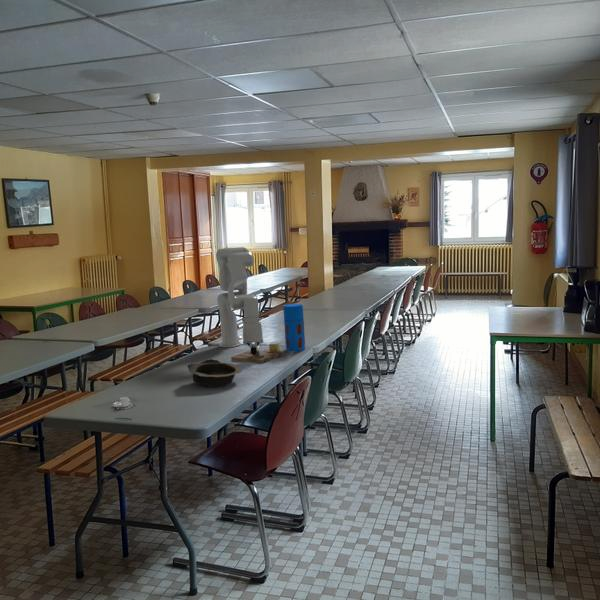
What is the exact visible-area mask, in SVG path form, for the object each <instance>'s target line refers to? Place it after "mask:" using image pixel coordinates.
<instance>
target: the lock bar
mask: <svg viewBox="0 0 600 600" xmlns="http://www.w3.org/2000/svg"><path fill="white" fill-rule="evenodd" d="M252 345H253V347H254V345H255V343H252ZM256 348H257V353H256V354H257V355H258V356H259V357H260V356H265V353H264V350H265V349H263V348H262V347H261V346H260V344H259V345H258V346H257V347H256Z"/></svg>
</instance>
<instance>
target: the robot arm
mask: <svg viewBox="0 0 600 600" xmlns="http://www.w3.org/2000/svg"><path fill="white" fill-rule="evenodd" d="M215 258H216V262H217V264H218V271H219V272H218V273H219V288H220V289H221V291H225V292H222V293H219V294H218V295H217V297H216V301H217V305H218V311H219V321H220V332H221V333H220V334H221V336H220V337H221V343H219V347H220V348H236V347H239V346H241V345H242V344H243V345H247V346H248V347H249V348H250V350H251V353H252V355H255V354H256V353H257V348H256V347H257V346H258V345H259V346H260V345H261V344H263V343H264V339H263V338H264V337H263V328H262V327H263V326H262V323H261V321H260V315H259V300H258V297H257V296H255V294H251V293H250V294H249V293H248V279H249V275H248V272H247V269H246V268H251V267H253V266H254V265H255V258H254V255H253V254H252V252H251V250H249V249H247V248H246V247H244V246H241V247H225V248H219V249H218V250H217V251H216V252H215ZM233 310H237V311H238V310H243V318H241V321H242V322H243V323H242V336H239V335H238V334H239V333H238V322H237V321H238V320H237V314H236V312H234V311H233ZM240 340H243V342H242V343H241V341H240ZM253 343H254V344H255V345H254V347H253Z"/></svg>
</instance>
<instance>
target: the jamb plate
mask: <svg viewBox="0 0 600 600" xmlns="http://www.w3.org/2000/svg"><path fill="white" fill-rule="evenodd" d="M263 350H264V353H265V356H260V357H259V356H258V355H257V354H255V355H252V353H251V349H249V350H247V351H243V352H242V353H238V354H236V355H233V356H231V357H230V358H231V361H232V362H240V363H250V364H251V363H254V364H263V365H264V364H267V362H270V361H273V360H276V359H278V358H280V357H282V356H284V354H285V353H284V350H282V351H281V350H279V352H271V351H270V349H269V350H268V349H263Z"/></svg>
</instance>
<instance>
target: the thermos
mask: <svg viewBox="0 0 600 600" xmlns="http://www.w3.org/2000/svg"><path fill="white" fill-rule="evenodd" d="M304 319H305V318H304V306H303V303H288V304H284V305H283V323H284V336H285V337H284V340H285V341H284V342H285V351H287V352H294V353H295V352H301V351H305V350H306V339H305V322H304V321H305V320H304Z"/></svg>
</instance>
